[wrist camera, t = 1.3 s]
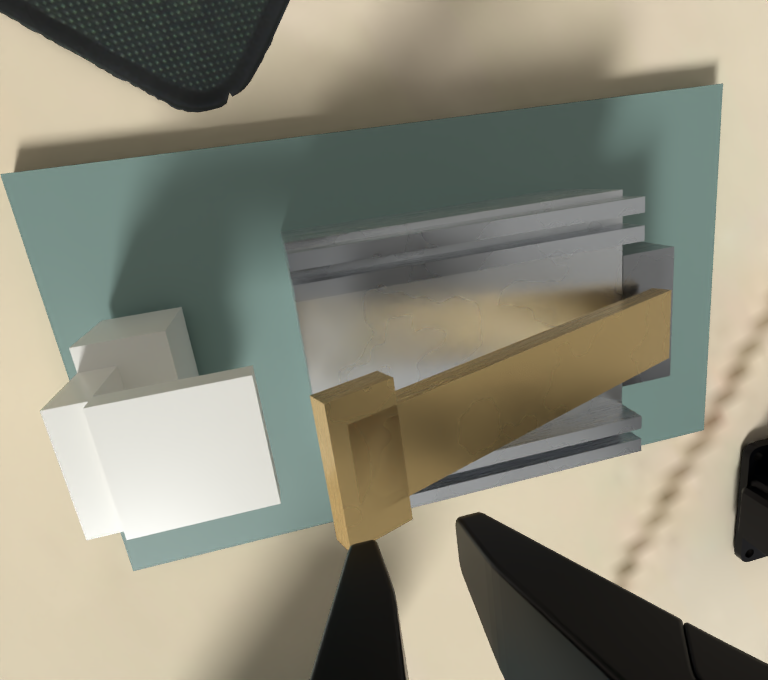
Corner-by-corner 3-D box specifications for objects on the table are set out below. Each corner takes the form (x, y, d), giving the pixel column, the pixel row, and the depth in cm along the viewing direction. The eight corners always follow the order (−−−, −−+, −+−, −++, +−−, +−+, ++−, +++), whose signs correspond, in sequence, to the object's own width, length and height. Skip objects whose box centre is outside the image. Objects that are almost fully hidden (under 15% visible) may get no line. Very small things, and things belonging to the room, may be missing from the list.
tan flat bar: (652, 268, 16) (671, 270, 16) (650, 371, 18) (668, 375, 17) (309, 395, 10) (324, 403, 10) (337, 539, 12) (351, 553, 11)
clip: (251, 294, 17) (245, 345, 12) (279, 426, 19) (285, 527, 13) (101, 320, 17) (21, 387, 11) (142, 456, 18) (90, 575, 13)
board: (705, 87, 20) (722, 83, 19) (689, 422, 24) (703, 429, 24) (12, 174, 16) (0, 174, 15) (138, 556, 20) (133, 571, 20)
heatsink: (608, 181, 19) (704, 180, 15) (609, 393, 22) (692, 442, 18) (280, 231, 17) (285, 247, 13) (323, 458, 20) (338, 531, 16)
